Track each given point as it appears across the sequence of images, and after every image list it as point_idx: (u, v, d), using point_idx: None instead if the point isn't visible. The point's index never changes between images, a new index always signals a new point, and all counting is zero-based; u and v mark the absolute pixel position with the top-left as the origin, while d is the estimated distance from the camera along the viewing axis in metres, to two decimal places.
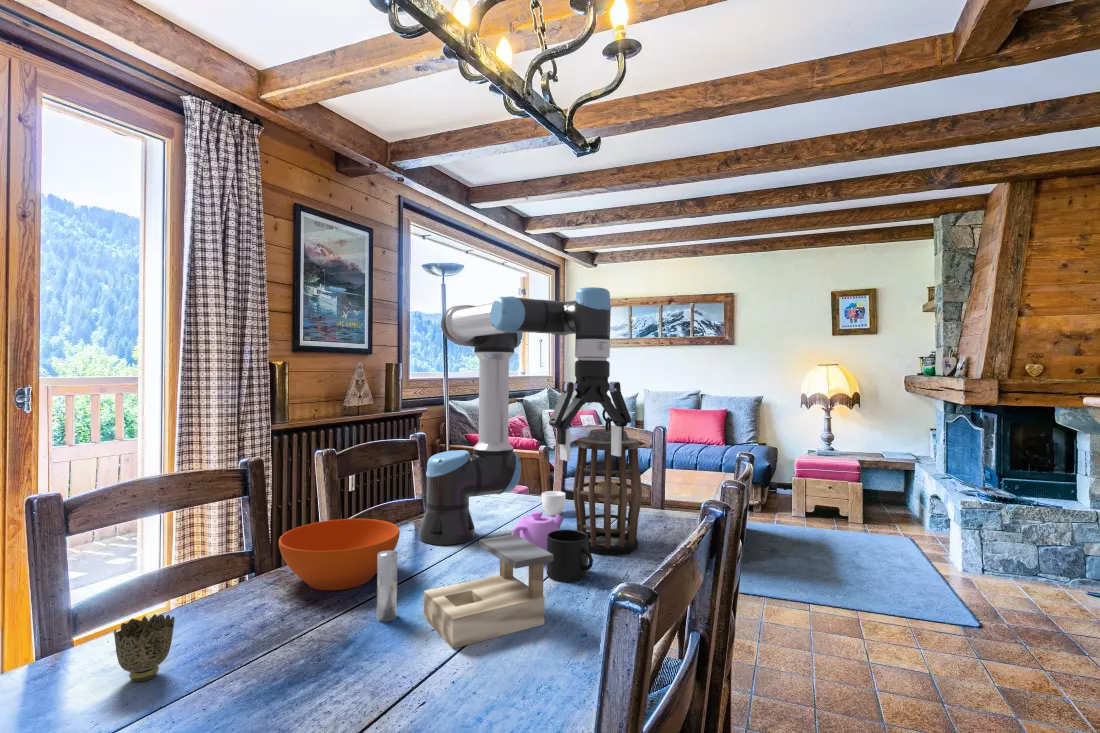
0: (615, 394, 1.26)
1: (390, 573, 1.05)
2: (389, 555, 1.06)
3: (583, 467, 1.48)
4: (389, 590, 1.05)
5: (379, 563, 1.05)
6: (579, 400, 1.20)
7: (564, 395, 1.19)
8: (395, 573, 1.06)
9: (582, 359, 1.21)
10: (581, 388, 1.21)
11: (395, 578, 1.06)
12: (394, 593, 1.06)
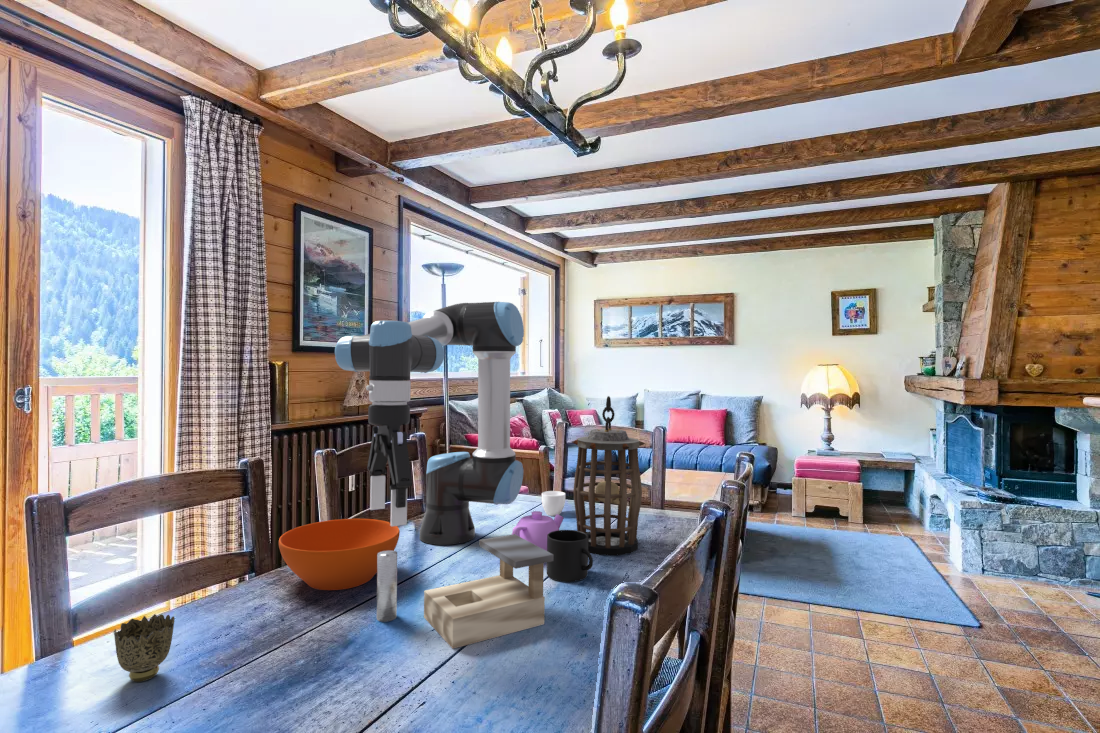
0: None
1: (389, 573, 1.05)
2: (389, 555, 1.06)
3: (583, 467, 1.48)
4: (389, 590, 1.05)
5: (379, 563, 1.05)
6: None
7: None
8: (395, 573, 1.06)
9: None
10: None
11: (395, 578, 1.06)
12: (394, 593, 1.06)
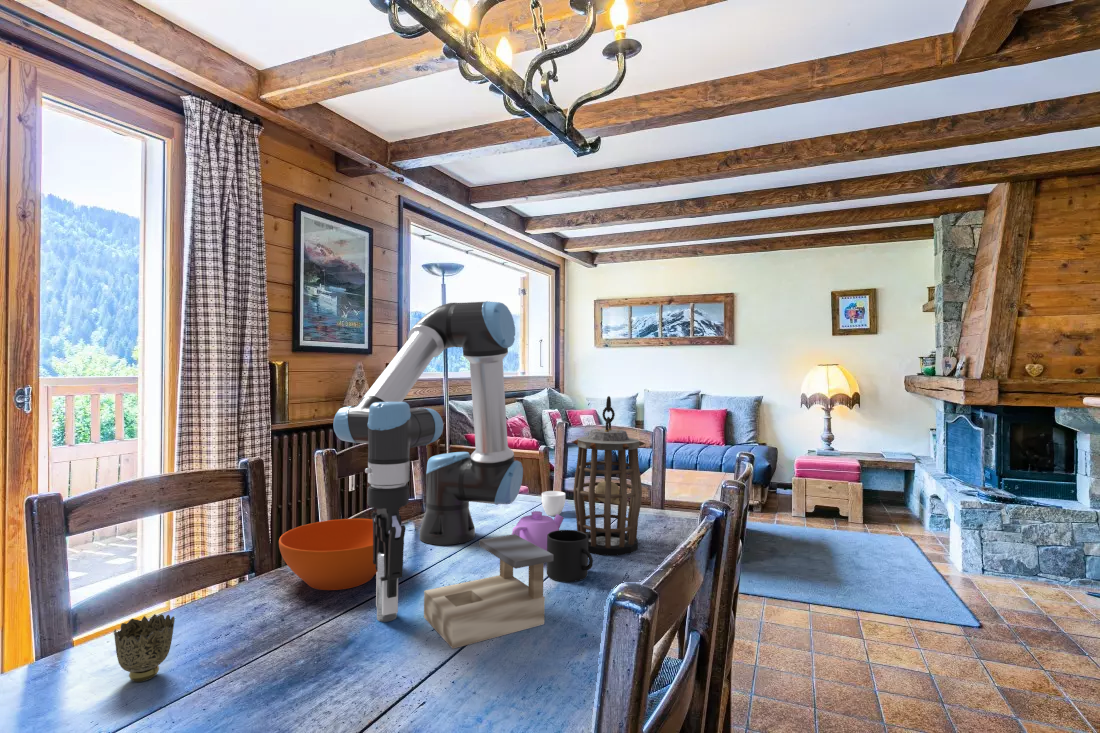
0: None
1: None
2: None
3: (583, 467, 1.48)
4: None
5: (379, 563, 1.05)
6: None
7: None
8: None
9: None
10: (377, 513, 1.09)
11: None
12: None
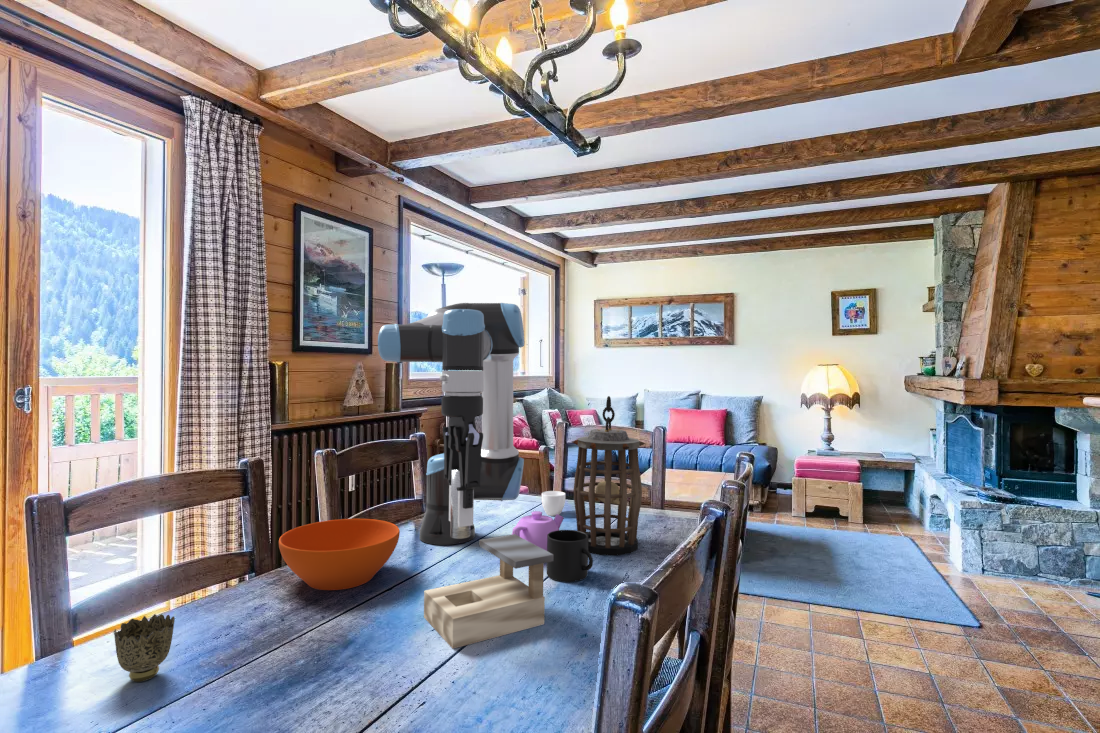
0: None
1: None
2: None
3: (583, 467, 1.48)
4: None
5: (454, 478, 1.02)
6: None
7: None
8: None
9: None
10: (449, 426, 1.06)
11: None
12: None
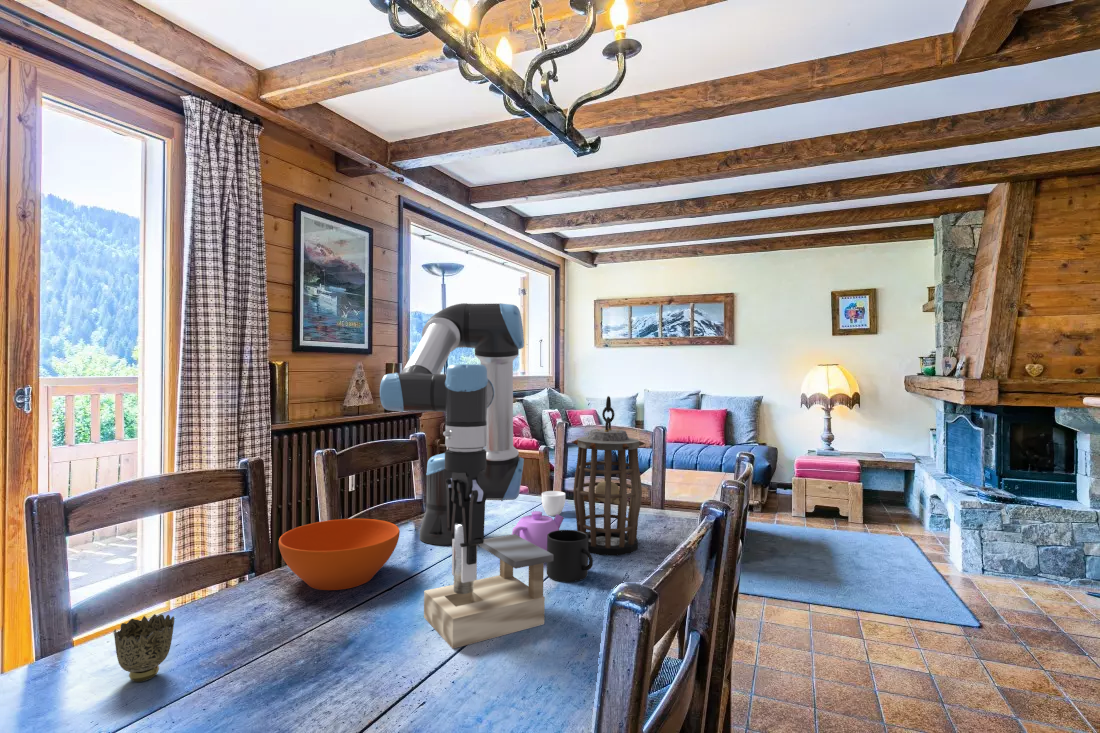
0: None
1: None
2: None
3: (583, 467, 1.48)
4: None
5: (457, 533, 1.02)
6: None
7: None
8: None
9: None
10: (452, 479, 1.06)
11: None
12: None
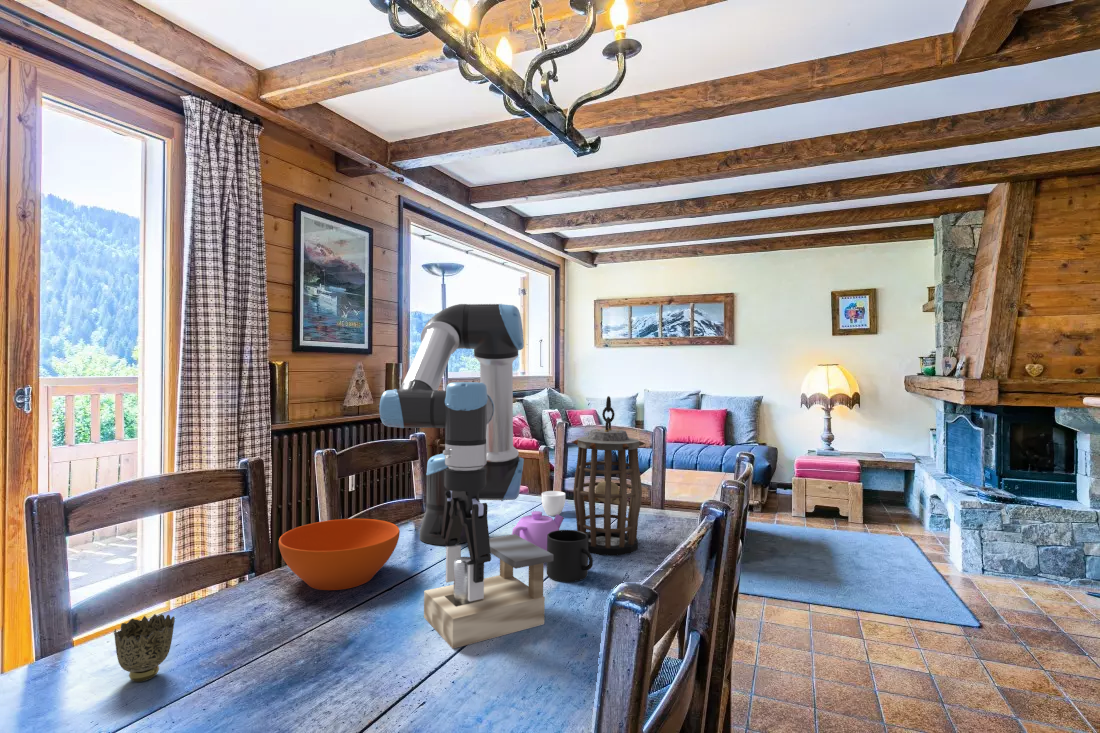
0: None
1: (467, 580, 1.02)
2: (466, 562, 1.03)
3: (583, 467, 1.48)
4: (467, 597, 1.02)
5: (456, 570, 1.02)
6: None
7: None
8: None
9: None
10: (452, 497, 1.06)
11: None
12: (471, 601, 1.03)
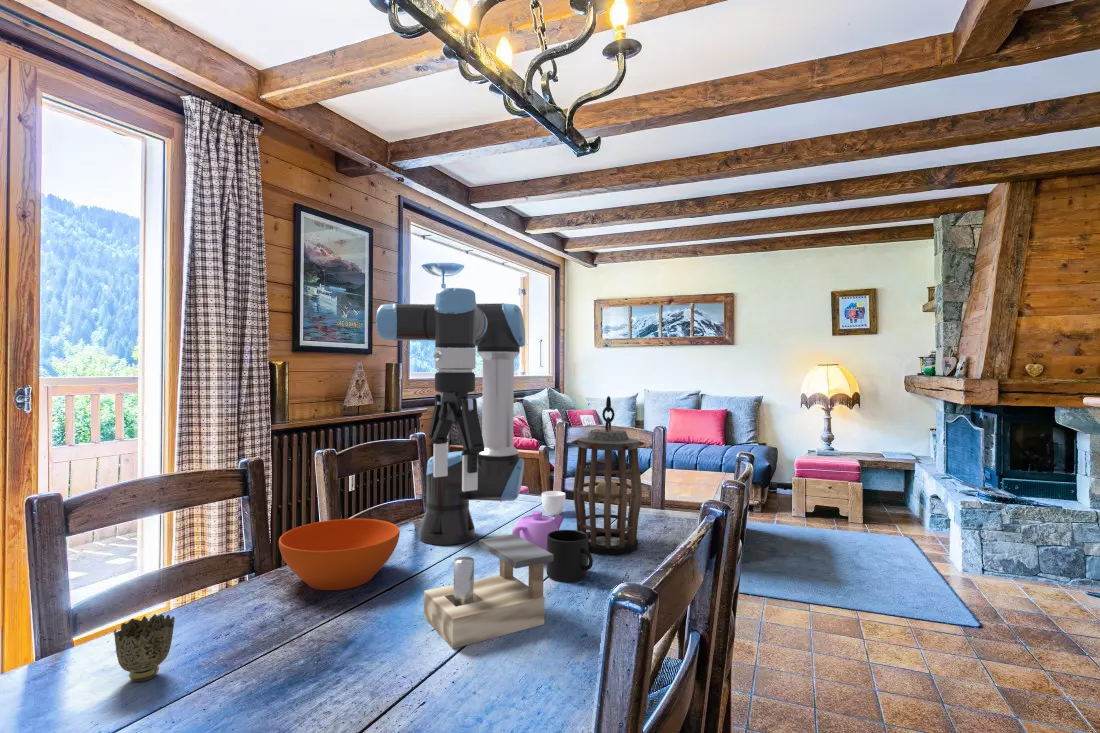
0: None
1: (467, 580, 1.02)
2: (466, 562, 1.03)
3: (583, 467, 1.48)
4: (467, 597, 1.02)
5: (456, 570, 1.02)
6: None
7: None
8: (472, 580, 1.03)
9: None
10: (442, 402, 1.10)
11: (472, 585, 1.03)
12: (471, 601, 1.03)
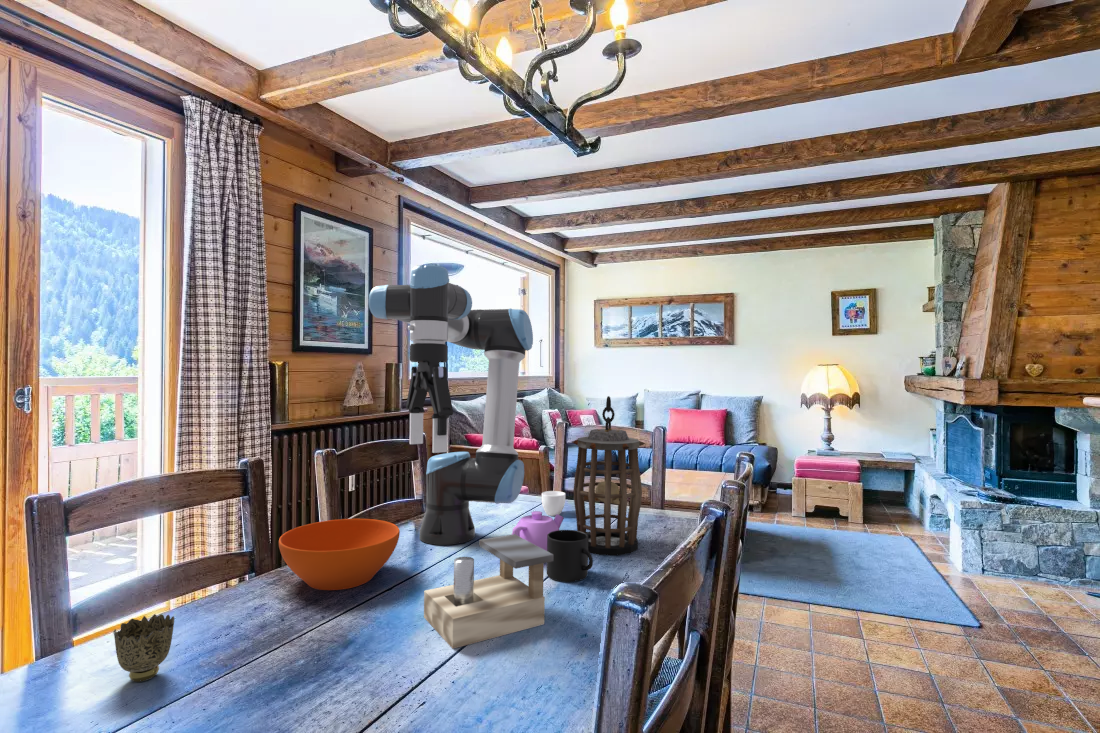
0: None
1: (467, 580, 1.02)
2: (466, 562, 1.03)
3: (583, 467, 1.48)
4: (467, 597, 1.02)
5: (456, 570, 1.02)
6: None
7: None
8: (472, 580, 1.03)
9: None
10: None
11: (473, 585, 1.03)
12: (471, 601, 1.03)
